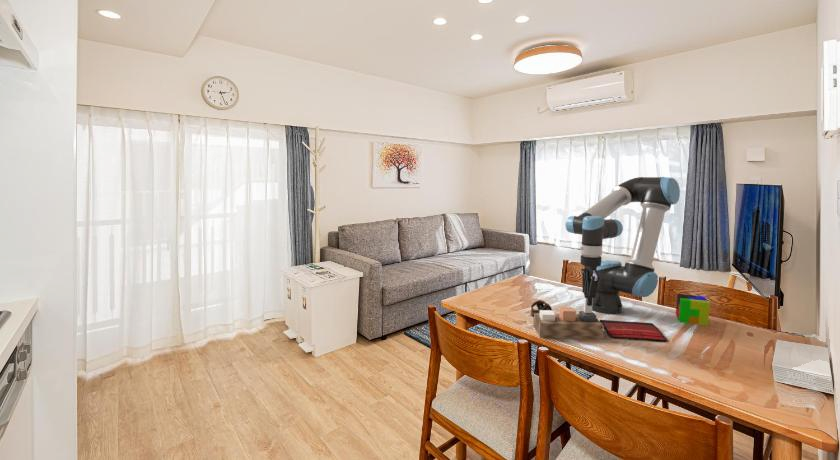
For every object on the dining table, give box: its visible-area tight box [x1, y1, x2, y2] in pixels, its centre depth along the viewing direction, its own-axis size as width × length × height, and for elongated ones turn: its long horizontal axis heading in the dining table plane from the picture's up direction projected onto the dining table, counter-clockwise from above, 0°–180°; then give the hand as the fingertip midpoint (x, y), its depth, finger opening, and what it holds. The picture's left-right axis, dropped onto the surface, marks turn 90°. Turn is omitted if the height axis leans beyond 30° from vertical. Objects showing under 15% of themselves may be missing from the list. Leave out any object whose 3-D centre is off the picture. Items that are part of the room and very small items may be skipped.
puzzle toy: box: [675, 293, 711, 327], centre depth 168 cm, size 10×10×10 cm
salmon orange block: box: [558, 306, 577, 321], centre depth 155 cm, size 5×5×6 cm
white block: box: [539, 309, 556, 321], centre depth 156 cm, size 5×5×6 cm
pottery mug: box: [530, 299, 553, 317], centre depth 175 cm, size 12×10×8 cm
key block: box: [533, 312, 604, 340], centre depth 156 cm, size 24×11×6 cm, turn 86°
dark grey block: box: [578, 310, 597, 322], centre depth 155 cm, size 5×5×6 cm
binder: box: [599, 319, 668, 343], centre depth 156 cm, size 16×2×21 cm
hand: (587, 312), depth 154 cm, fingers closed
